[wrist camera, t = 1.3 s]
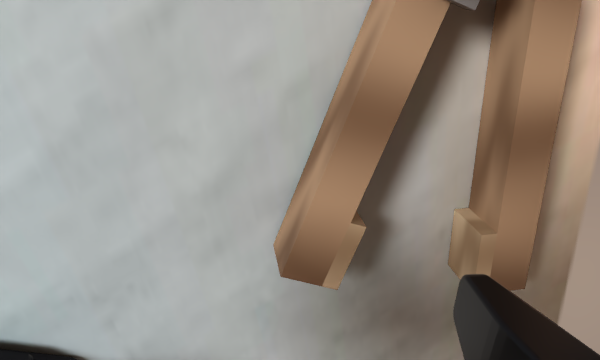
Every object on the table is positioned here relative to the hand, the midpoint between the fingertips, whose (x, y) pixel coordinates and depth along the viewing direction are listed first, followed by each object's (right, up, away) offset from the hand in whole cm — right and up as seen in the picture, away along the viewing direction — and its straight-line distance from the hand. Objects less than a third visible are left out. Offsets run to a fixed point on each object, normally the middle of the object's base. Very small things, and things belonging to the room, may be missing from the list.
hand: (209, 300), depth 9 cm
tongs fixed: (+9, +6, +12) cm, 16 cm away
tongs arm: (+5, +6, +11) cm, 14 cm away
